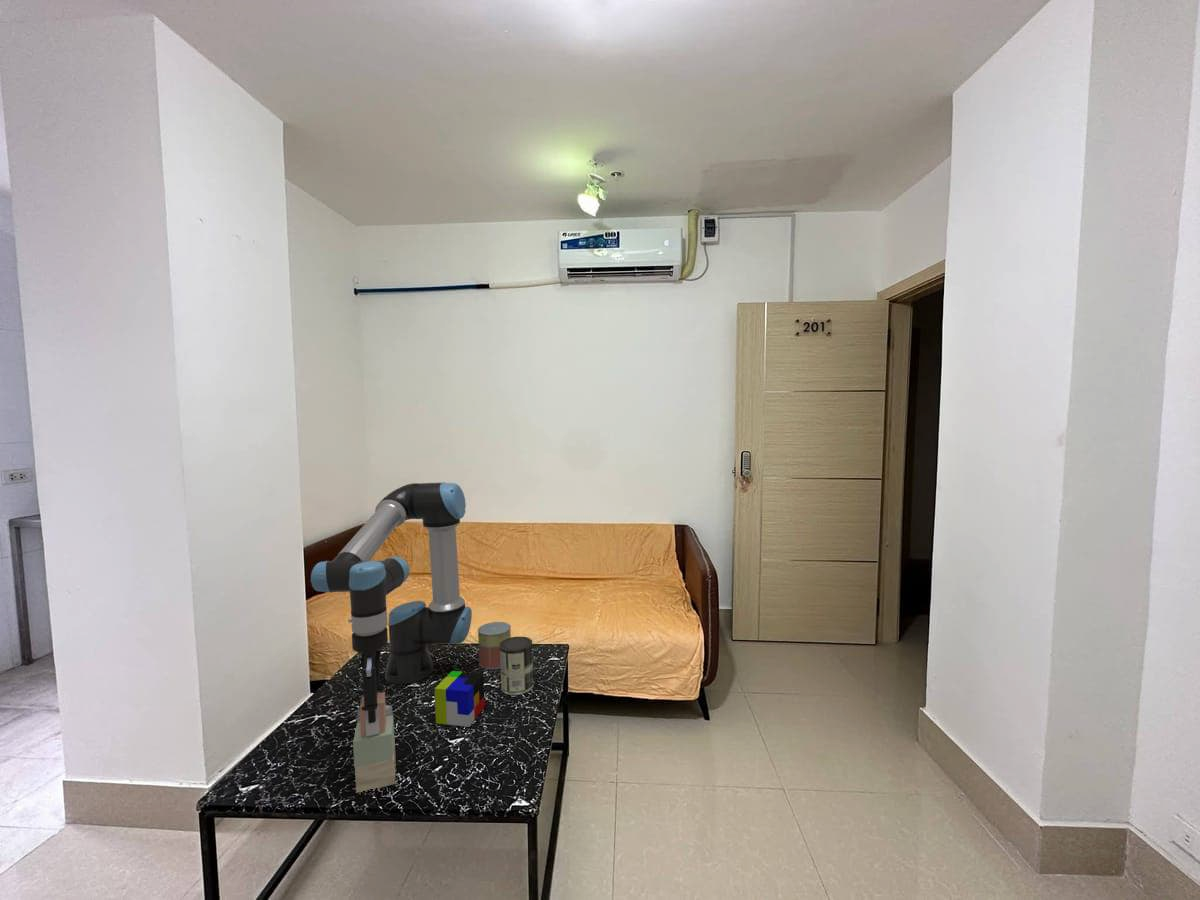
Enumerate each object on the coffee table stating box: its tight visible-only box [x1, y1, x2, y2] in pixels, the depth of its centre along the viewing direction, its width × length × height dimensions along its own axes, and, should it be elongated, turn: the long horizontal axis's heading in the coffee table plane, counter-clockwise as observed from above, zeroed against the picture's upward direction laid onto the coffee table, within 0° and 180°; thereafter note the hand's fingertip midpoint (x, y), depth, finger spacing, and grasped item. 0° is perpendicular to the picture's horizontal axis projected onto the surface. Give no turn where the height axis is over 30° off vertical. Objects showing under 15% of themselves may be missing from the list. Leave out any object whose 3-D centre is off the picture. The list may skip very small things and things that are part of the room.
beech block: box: [354, 738, 397, 794], centre depth 116 cm, size 8×8×6 cm
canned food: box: [477, 621, 512, 670], centre depth 173 cm, size 11×11×12 cm
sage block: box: [352, 714, 395, 769], centre depth 116 cm, size 8×8×6 cm
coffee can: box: [499, 636, 535, 696], centre depth 156 cm, size 10×10×14 cm
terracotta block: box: [359, 691, 387, 737], centre depth 115 cm, size 5×5×7 cm
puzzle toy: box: [434, 670, 486, 728], centre depth 141 cm, size 10×10×10 cm
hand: (373, 727), depth 115 cm, fingers closed on terracotta block, 5 cm apart
